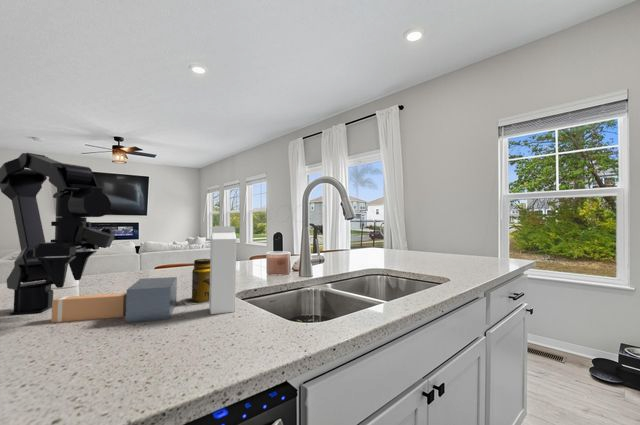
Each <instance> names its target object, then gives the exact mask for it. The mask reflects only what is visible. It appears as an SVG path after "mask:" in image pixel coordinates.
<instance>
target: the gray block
mask: <svg viewBox="0 0 640 425" xmlns="http://www.w3.org/2000/svg"><path fill="white" fill-rule="evenodd" d="M177 284H178V277H177V276H173V277H172V276H171V277H153V278H151V277H149V278H140V279H139V280H137V281H136V282H134V283H133V284H132V285H131V286H129V287H128V288H127V289H126V293H127V294H126V314H125V324H127V323H129V324H130V323H139V322H149V321H153V322H154V321H160V320H161V321H163V320H171V319H170V318H171V317H172V314H173V313H174V310H175V308H176V305H177V295H178V294H177V292H178V291H177V290H178V286H177Z"/></svg>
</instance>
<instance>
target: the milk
mask: <svg viewBox="0 0 640 425" xmlns="http://www.w3.org/2000/svg"><path fill="white" fill-rule="evenodd" d="M209 256H210V257H209V259H210V300H209V306H208V307H209V308H208V309H209V311H210V315H218V314H219V315H220V314H227V313H234V312H236V289H237V288H236V286H237V282H236V281H237V280H236V279H237V278H236V277H237V271H236V270H237V235H236V227H235V226H232V225H231V226H227V225H226V226H225V225H223V226H221V225H219V226H212V227H211V235H210V254H209Z"/></svg>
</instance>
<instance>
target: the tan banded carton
mask: <svg viewBox="0 0 640 425" xmlns="http://www.w3.org/2000/svg"><path fill="white" fill-rule="evenodd" d="M126 294H127V292H123V293H104V294H92V295H91V294H90V295H87V294H86V295H73V296H72V295H71V296H69V295H65V296H58V297H56V298H53V300H52V307H51V323H62V322H72V321H73V322H74V321H85V320H95V319H98V320H99V319H108V318H109V319H110V318H120V317H124V316H126Z"/></svg>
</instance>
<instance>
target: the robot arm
mask: <svg viewBox="0 0 640 425" xmlns="http://www.w3.org/2000/svg"><path fill="white" fill-rule="evenodd" d="M46 180H48V182H49V183H50V184H51V185H52V186H54V187H56V189H57V190H58V191H57V192H55V193H54V194H53V195H52V198H53V199H56V200H55V221H51V222H50V223H51V225H50V226H51V227H54V229H55V230H54V239H50V242H47V241H46V239H45V234H44V233H45V232H44V229H43V224H42V220H41V219H42V218H41V213H40V208H39V205H38V200H37V195H38V194H39V192H40V191H41V190H42V187H43V184H44V182H46ZM0 192H1V193H2V194H4V196H5V197H7V198H8V199H9V200H11V204H12V209H13V214H14V220H15V224H16V225H15V226H16V230H17V236H18V241H19V247H20V252H19V254H18V256H17V257H16V259H15V260H14V263H13V264H14V265H13V268H12V270H11V272H10V274H9V276H8V277H7V279H6V288H7V289H8V290H9V289H10V290H13V291H14V292H13V310H12V311H11V310H10V311H9V313H8V314H9V315H21V314H22V315H23V314H34V313H43V312H45V311H46V310H48V309H50V308H52V300H54V290H53V289H52V285H55V287H56V289H57V288H58V289H61V288H64V286H65V282H66V277H67V272H68V268H70V271H71V274H72V278H73V279H74V280H75V281H81V280H82V276H83V274H84V272H85V271H84V270H85V268H86V265H87V262H88V260H89V258H90V257H91V256H93V255H94V254H96V253H97V251H98V250H99V249H100V248H101V249H107V248H111V245H112V243H113V241H115V239H116V238H115V235H116V234H115V233H114V230H113V229H112V228H110V227H103V228H102V229H98V228H97V229H96V228H94V227H93V228H92V224H91V222H90V221H88V220H87V218H101V217H104V216H106V215H107V214H108V213H109V212H110V211H111V208H112V202H111V200H110V198H109V197H108V196H107V195H106V194H105V193H103V187H101V185H100V184H99V183H98V181H97V178H96V176H95V174H94V172H93V170H92V169H91V168H90V167H89V166H83V165H77V164H71V163H63V162H60V161H58V160H55V159H52V158H49V157H48V156H46V155H45V154H44V155H43V154H37V153H31V152H22V153H20V155H19V156H18V157H16V158H14V159H11V160H9V161H6V162H4V163H3V164H2V165H1V166H0Z"/></svg>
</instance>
